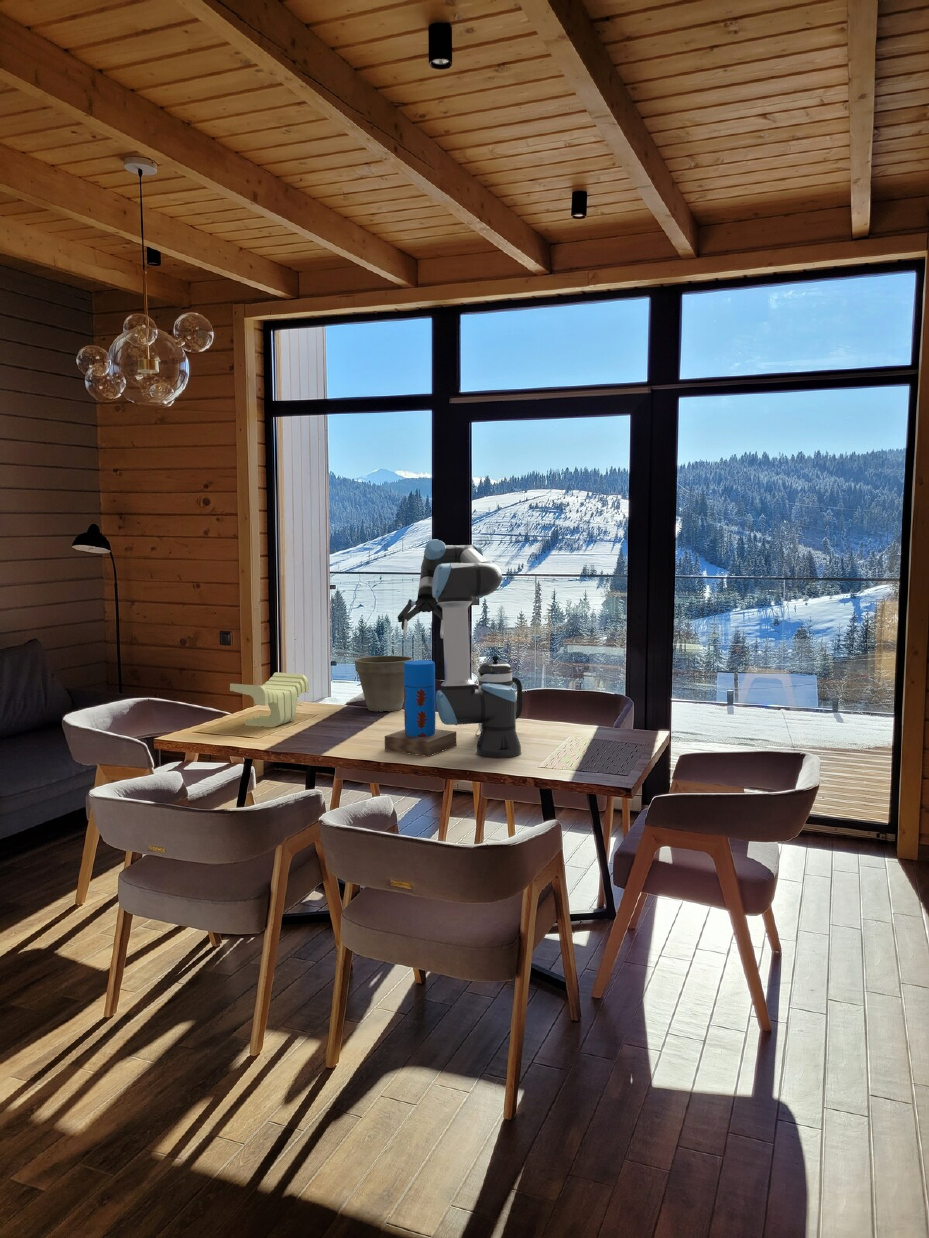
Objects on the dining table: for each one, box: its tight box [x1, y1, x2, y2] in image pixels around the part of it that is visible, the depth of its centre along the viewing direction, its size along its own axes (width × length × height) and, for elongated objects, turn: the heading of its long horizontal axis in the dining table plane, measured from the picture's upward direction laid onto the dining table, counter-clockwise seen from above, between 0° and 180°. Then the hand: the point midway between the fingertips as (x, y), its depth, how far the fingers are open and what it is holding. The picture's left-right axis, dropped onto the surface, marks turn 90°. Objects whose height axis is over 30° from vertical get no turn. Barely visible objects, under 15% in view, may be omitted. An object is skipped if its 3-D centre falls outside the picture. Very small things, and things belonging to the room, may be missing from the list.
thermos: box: [403, 660, 436, 737], centre depth 316 cm, size 11×11×25 cm
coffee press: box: [475, 654, 523, 737], centre depth 335 cm, size 17×16×30 cm
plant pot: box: [354, 655, 414, 713], centre depth 388 cm, size 25×25×22 cm
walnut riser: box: [384, 728, 457, 757], centre depth 317 cm, size 18×18×5 cm
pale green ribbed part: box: [229, 672, 310, 728], centre depth 360 cm, size 30×16×18 cm, turn 157°
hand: (422, 635), depth 332 cm, fingers open, 13 cm apart
